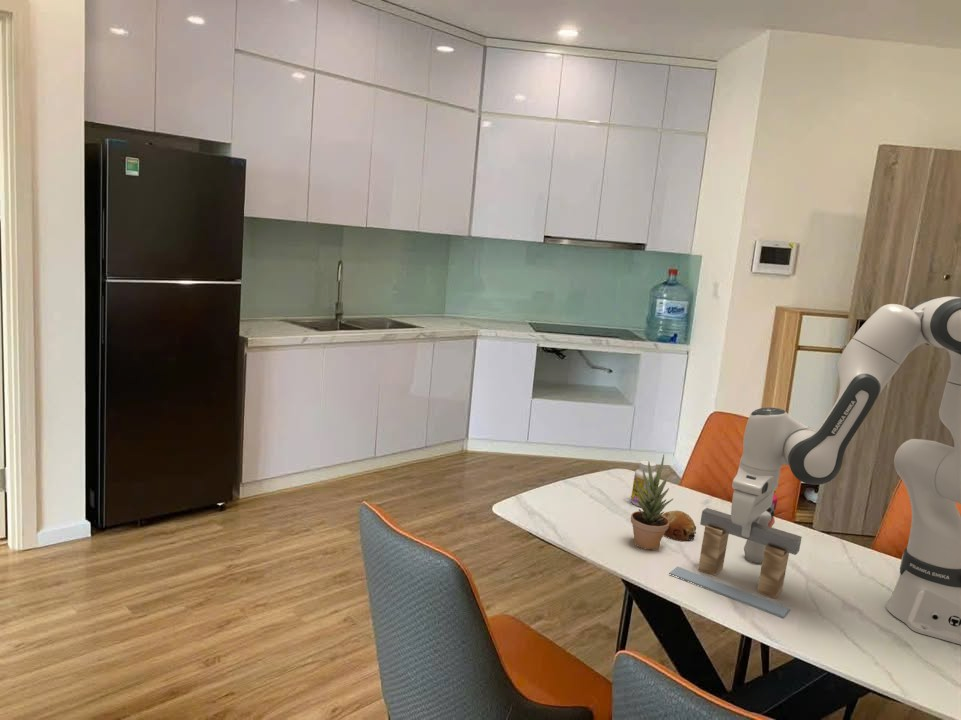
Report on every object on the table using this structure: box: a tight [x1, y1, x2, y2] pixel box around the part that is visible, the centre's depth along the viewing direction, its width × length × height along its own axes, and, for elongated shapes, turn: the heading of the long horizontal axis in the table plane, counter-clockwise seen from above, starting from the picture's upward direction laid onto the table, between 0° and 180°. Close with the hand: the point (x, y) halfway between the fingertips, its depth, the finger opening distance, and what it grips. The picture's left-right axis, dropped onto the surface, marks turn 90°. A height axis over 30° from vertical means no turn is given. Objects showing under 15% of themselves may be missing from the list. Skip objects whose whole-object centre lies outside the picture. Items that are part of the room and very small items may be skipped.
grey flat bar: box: [668, 566, 791, 619], centre depth 164 cm, size 26×5×1 cm, turn 53°
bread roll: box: [662, 510, 697, 542], centre depth 195 cm, size 10×10×8 cm
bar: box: [699, 507, 803, 556], centre depth 168 cm, size 22×3×4 cm, turn 53°
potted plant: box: [630, 454, 674, 550], centre depth 183 cm, size 10×10×25 cm
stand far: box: [697, 526, 730, 577], centre depth 174 cm, size 4×6×11 cm, turn 143°
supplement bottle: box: [630, 460, 657, 508], centre depth 214 cm, size 7×7×13 cm
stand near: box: [756, 545, 790, 599], centre depth 166 cm, size 4×6×11 cm, turn 143°
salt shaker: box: [743, 511, 771, 565], centre depth 182 cm, size 6×6×13 cm
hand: (748, 533), depth 169 cm, fingers closed on bar, 3 cm apart
